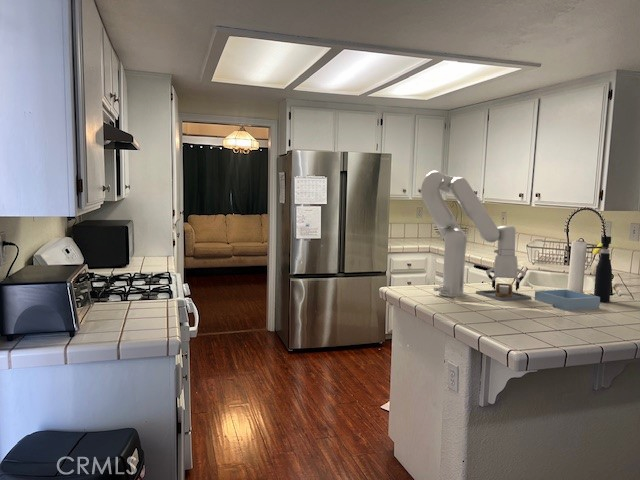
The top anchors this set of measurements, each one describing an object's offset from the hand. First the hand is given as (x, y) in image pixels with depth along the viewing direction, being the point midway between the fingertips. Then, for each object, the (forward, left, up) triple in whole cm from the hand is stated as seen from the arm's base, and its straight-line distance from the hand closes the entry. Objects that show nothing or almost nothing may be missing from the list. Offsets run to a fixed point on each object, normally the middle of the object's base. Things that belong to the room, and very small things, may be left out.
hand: (505, 289), depth 223 cm
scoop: (-1, 0, -3) cm, 3 cm away
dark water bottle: (+42, -15, -4) cm, 45 cm away
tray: (-1, +1, -4) cm, 4 cm away
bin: (+17, -18, -4) cm, 26 cm away
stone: (0, +1, -3) cm, 3 cm away
